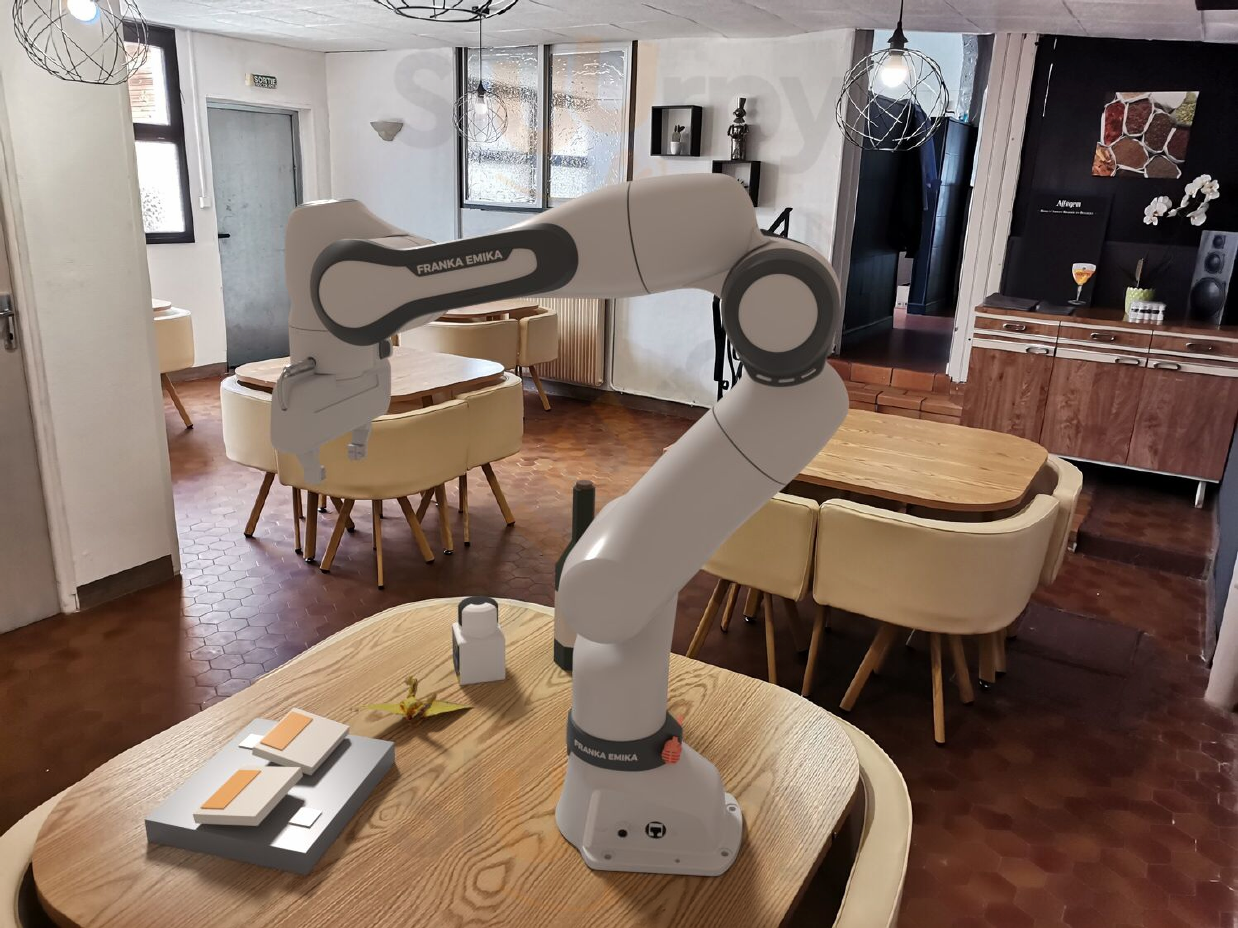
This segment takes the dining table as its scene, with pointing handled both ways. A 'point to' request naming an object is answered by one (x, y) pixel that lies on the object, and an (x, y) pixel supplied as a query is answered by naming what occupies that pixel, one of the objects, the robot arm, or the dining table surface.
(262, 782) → the left rocker
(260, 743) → the right rocker
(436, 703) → the origami crane
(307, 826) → the switch panel
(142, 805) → the dining table surface
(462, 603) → the medicine bottle
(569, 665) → the wine bottle
